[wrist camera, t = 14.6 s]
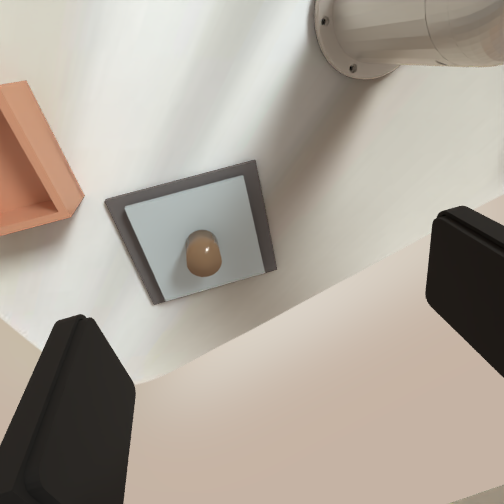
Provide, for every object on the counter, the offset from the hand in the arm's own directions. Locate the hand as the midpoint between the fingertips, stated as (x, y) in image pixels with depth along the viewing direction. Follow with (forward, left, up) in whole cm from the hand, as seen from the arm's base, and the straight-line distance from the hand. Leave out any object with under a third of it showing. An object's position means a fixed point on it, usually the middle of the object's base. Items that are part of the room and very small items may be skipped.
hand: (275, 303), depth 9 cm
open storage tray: (+21, -1, -32) cm, 39 cm away
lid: (+4, +14, -31) cm, 34 cm away
